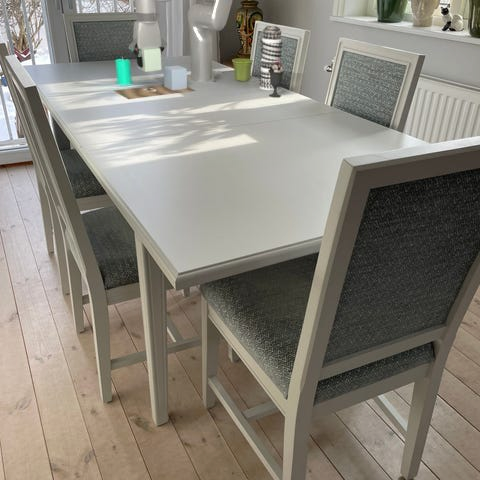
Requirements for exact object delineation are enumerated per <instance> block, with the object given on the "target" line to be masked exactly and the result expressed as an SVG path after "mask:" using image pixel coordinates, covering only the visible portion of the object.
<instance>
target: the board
mask: <svg viewBox="0 0 480 480" xmlns="http://www.w3.org/2000/svg"><path fill="white" fill-rule="evenodd" d="M196 91H197V90H196V89H194V88H191V87H189V86H187V88H186V89H178V90H171V89H168V88H166V87H164V84H159V85H151V86H141V87H139V86H138V87H132V88H124V89H116V90H113V92H115V93H116V94H119V95H120V96H122V97H124V98H125V99H127V100H134V99H143V98H148V97H149V98H150V97H151V98H152V97H156V96H166V95H173V94H175V95H176V94H181V93H188V92H196Z"/></svg>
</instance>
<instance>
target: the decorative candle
mask: <svg viewBox="0 0 480 480" xmlns="http://www.w3.org/2000/svg"><path fill="white" fill-rule="evenodd" d="M262 32H263V33H262V40H260V44H261V45H260V48H261V49H260V61H261V67H260V71H259V73H260V75H259V77H260V78H259V83H258V85H259V87H258V88H259V89H260V90H262V91H274V87H273V86H272V85H271V80H270V73H269V71H268V70H270V69H269V67H270V66H271V67H272V66H273V65H274V64H275V63H276V62H278V61H279V60H281V59H280V58H282V50H280V49H282V48H283V46H282V45H283V42H282V32H283V31H282V30H281V28H280V27H279V26H274V25H269V26H265V28H264V29H263V30H262ZM278 64H280V61H279V62H278ZM277 90H279V86H278V87H277Z"/></svg>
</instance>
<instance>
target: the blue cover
mask: <svg viewBox="0 0 480 480" xmlns="http://www.w3.org/2000/svg"><path fill="white" fill-rule="evenodd" d="M187 71H188V70H187V68H186V67H183V66H181V65H172V66H170V65H169V66H163V85H164V87H166V88H168V89H171V90H178V89H186V88H187V87H188V72H187Z"/></svg>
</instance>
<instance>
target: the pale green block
mask: <svg viewBox="0 0 480 480" xmlns="http://www.w3.org/2000/svg"><path fill="white" fill-rule="evenodd" d="M135 50H137V48H135ZM141 57H142V60H143V67H142V68H141V67H139V66H138V65H137V69H138V70H141V71H143V72H145V73H147V72H155V71H156V72H157V71H162V54H161V52H160V48H154V49H144V50H142V54H141Z"/></svg>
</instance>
